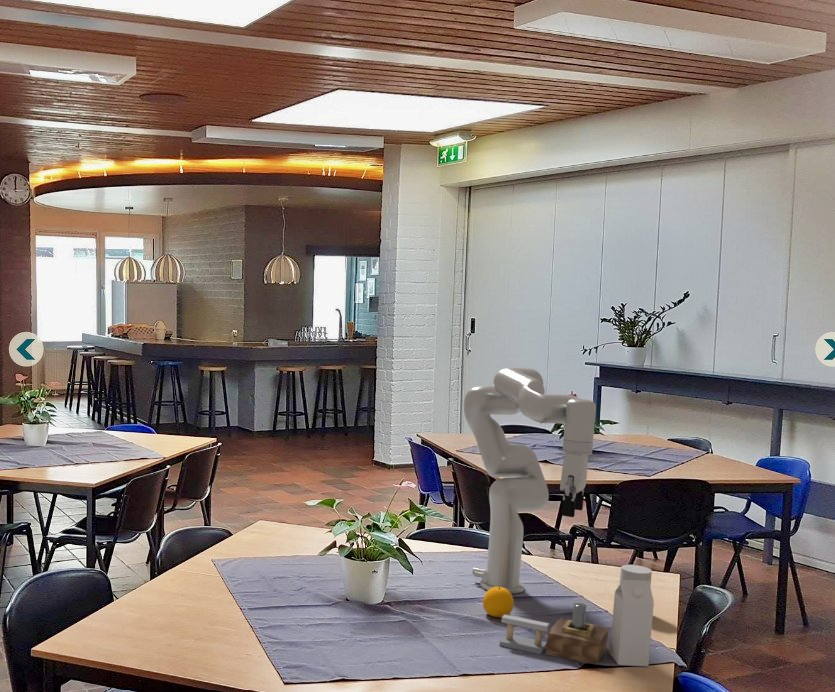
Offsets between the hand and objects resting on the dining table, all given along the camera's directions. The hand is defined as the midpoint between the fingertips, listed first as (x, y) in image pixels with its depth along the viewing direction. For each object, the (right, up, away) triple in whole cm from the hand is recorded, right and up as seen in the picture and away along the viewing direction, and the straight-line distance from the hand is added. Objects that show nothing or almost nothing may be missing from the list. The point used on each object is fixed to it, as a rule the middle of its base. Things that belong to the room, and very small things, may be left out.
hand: (572, 512), depth 244 cm
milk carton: (+9, -30, -24) cm, 40 cm away
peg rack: (-15, -28, -19) cm, 37 cm away
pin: (-2, -28, -20) cm, 35 cm away
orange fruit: (-19, -27, +2) cm, 33 cm away
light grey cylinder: (+18, -30, +12) cm, 37 cm away
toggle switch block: (-2, -29, -20) cm, 36 cm away
